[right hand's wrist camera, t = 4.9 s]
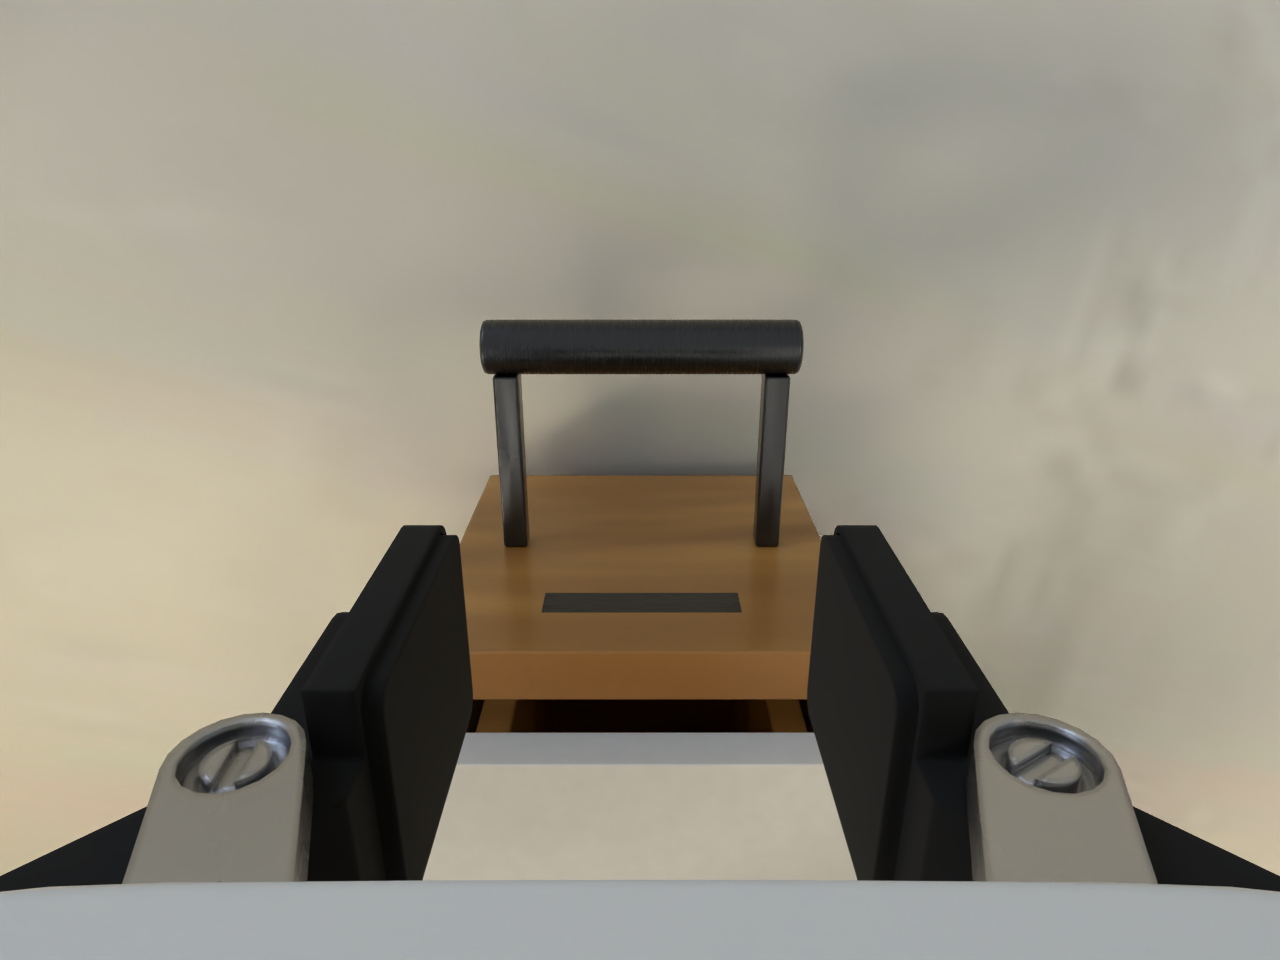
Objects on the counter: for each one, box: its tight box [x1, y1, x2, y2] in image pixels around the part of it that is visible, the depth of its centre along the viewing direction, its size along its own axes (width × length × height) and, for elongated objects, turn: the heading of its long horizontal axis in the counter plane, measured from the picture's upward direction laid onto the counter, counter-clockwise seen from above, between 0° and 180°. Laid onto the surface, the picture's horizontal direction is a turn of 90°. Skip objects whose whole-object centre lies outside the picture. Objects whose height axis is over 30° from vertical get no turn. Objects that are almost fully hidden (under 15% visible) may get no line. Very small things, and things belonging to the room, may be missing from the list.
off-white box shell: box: [422, 699, 858, 881], centre depth 25 cm, size 14×11×12 cm
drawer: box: [460, 320, 821, 733], centre depth 23 cm, size 18×9×10 cm, turn 0°
